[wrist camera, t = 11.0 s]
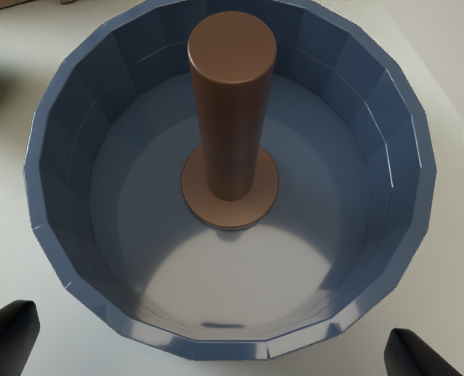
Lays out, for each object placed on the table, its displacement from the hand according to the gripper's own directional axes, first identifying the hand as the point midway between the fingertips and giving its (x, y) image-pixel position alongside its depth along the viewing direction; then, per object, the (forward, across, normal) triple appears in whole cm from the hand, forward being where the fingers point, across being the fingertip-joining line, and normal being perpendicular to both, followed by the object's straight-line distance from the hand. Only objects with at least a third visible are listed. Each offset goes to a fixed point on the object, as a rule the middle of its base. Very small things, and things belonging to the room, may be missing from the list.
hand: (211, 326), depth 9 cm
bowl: (+10, 0, +1) cm, 10 cm away
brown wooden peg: (+10, 0, +1) cm, 10 cm away
